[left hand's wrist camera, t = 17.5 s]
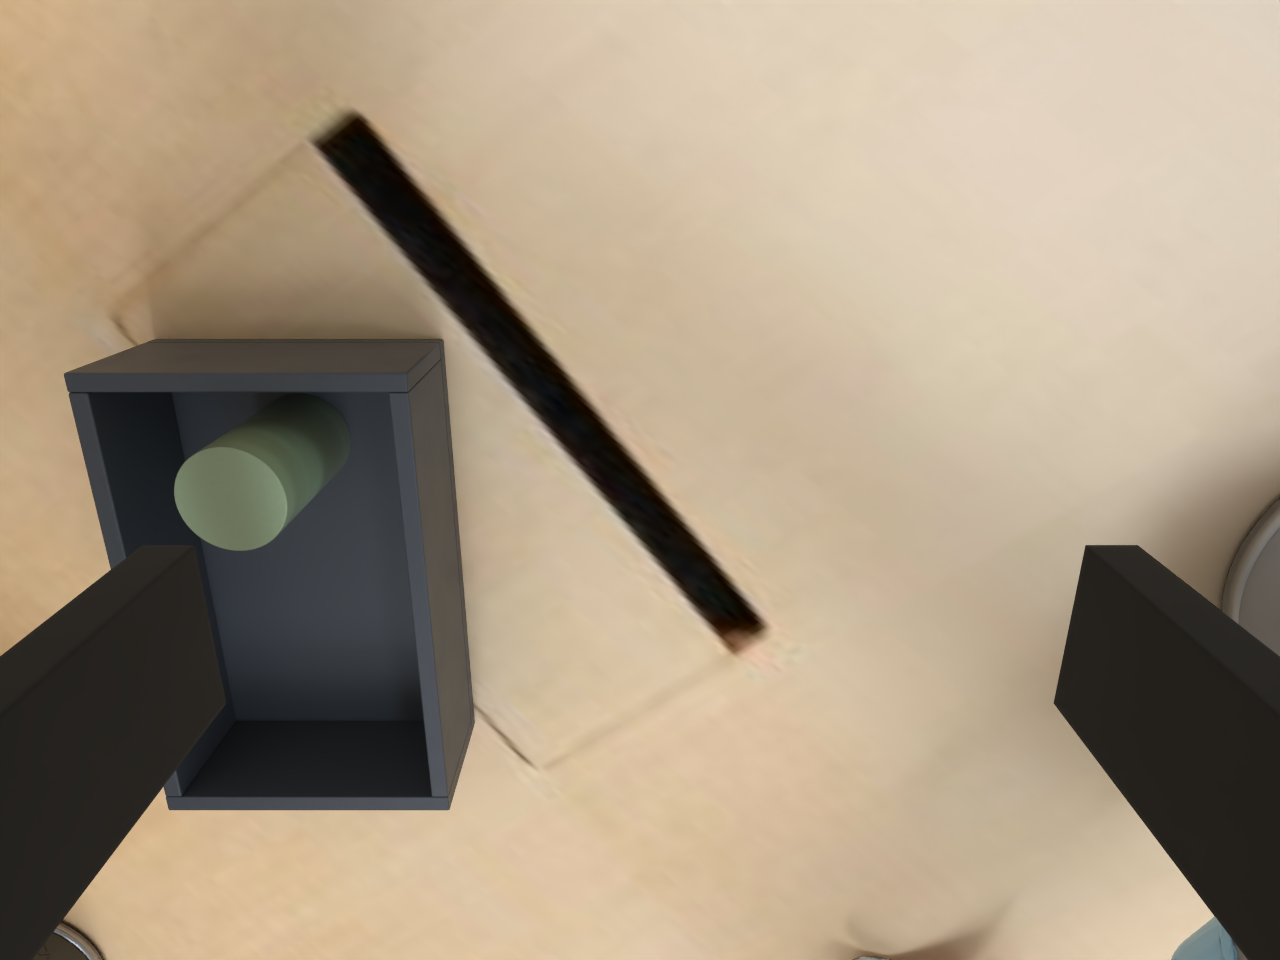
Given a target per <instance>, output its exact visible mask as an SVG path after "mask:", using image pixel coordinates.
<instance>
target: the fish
mask: <svg viewBox="0 0 1280 960" xmlns="http://www.w3.org/2000/svg"><path fill="white" fill-rule="evenodd" d="M853 960H890V959H885V958H880V957H874V956H861V957H858V958H855V959H853Z"/></svg>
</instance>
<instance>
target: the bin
mask: <svg viewBox="0 0 1280 960" xmlns="http://www.w3.org/2000/svg"><path fill="white" fill-rule="evenodd" d="M64 377H65V381H66V386H67V390H68V392H70V393H69V398H70V402H71V406H72V410H73V414H74V418H75V423H76V427H77V431H78V435H79V439H80V443H81V447H82V451H83V456H84V460H85V464H86V468H87V472H88V476H89V480H90V485H91V489H92V493H93V497H94V501H95V505H96V509H97V513H98V518H99V522H100V526H101V530H102V534H103V538H104V542H105V546H106V551H107V555H108V559H109V563H110V567H111V569H113V568H114V567H115V566H117V565H118V564H119V563H120V562H122V561H123V560H124V559H126V558H127V557H128V556H129V555H131V554H132V553H133V552H134V551H136V550H137V549H138V548H140V547H141V546H142V545H194V546H195V551H196V556H197V561H198V566H199V571H200V576H201V581H202V586H203V591H204V596H205V601H206V606H207V610H208V615H209V620H210V625H211V630H212V635H213V640H214V645H215V650H216V655H217V660H218V665H219V670H220V675H221V680H222V685H223V690H224V695H225V700H226V704H225V706H224V707H223V708H222V710H221V711H220V712H219V714H218V715H217V716H216V718H215V719H214V720H213V721H212V723H211V724H210V725H209V727H208V728H207V729H206V731H205V732H204V733H203V735H202V736H201V737H200V739H199V740H198V741H197V743H196V744H195V745H194V747H193V748H192V749H191V751H190V752H189V753H188V755H187V756H186V757H185V759H184V760H183V761H182V762H181V764H180V765H179V766H178V768H177V769H176V770H175V772H174V773H173V774H172V776H171V777H170V778H169V780H168V781H167V782H166V784H165V785H164V790H165V794H166V800H167V804H168V808H169V810H449V809H450V806H451V802H452V799H453V796H454V792H455V789H456V785H457V782H458V779H459V775H460V772H461V768H462V765H463V761H464V758H465V755H466V751H467V748H468V744H469V741H470V738H471V734H472V730H473V727H474V724H475V723H474V711H473V698H472V686H471V674H470V662H469V649H468V637H467V625H466V613H465V601H464V588H463V576H462V564H461V552H460V539H459V527H458V515H457V503H456V491H455V478H454V466H453V454H452V442H451V430H450V417H449V405H448V393H447V381H446V368H445V356H444V344H443V340H442V339H154V340H152V341H149V342H146V343H144V344H141V345H139V346H136V347H133V348H131V349H128V350H125V351H123V352H120V353H117V354H115V355H112V356H109V357H107V358H104V359H101V360H99V361H96V362H93V363H91V364H88V365H85V366H82V367H80V368H77V369H74V370H72V371H69V372H66V373H64ZM291 394H306V395H311V396H314V397H317V398H320V399H322V400H324V401H325V402H327V403H329V404H330V405H331V406H333V407H334V408H335V409H336V410H337V411H338V412H339V413H340V415H341V416H342V417H343V419H344V420H345V422H346V424H347V426H348V429H349V432H350V437H351V450H350V455H349V457H348V460H347V462H346V463H345V465H344V466H343V467H342V469H341V470H340V471H339V472H338V473H337V474H336V475H335V476H334V477H333V478H332V479H331V480H330V481H329V482H328V483H327V484H326V485H325V486H324V487H323V488H322V490H321V491H320V492H319V493H318V494H317V495H316V496H315V497H314V498H313V499H312V500H311V501H310V502H309V503H308V504H307V505H306V506H305V507H304V508H303V509H302V510H301V511H300V512H299V513H298V514H297V516H296V517H295V518H294V519H293V520H292V521H291V522H290V523H289V524H288V525H287V526H286V527H285V528H284V529H283V530H282V531H281V532H280V533H279V534H278V535H277V536H276V537H275V538H274V539H273V540H272V541H270V542H269V543H268V544H266V545H264V546H262V547H259V548H256V549H252V550H245V551H235V550H228V549H223V548H220V547H217V546H215V545H212V544H210V543H208V542H207V541H205V540H203V539H202V538H200V537H199V536H198V535H197V534H195V533H194V532H193V531H192V530H191V529H190V528H189V527H188V525H187V524H186V523H185V521H184V520H183V518H182V517H181V515H180V513H179V511H178V508H177V505H176V502H175V496H174V486H175V480H176V477H177V474H178V472H179V470H180V468H181V466H182V465H183V464H184V462H185V461H186V460H187V459H188V458H190V457H191V456H192V455H194V454H195V453H197V452H198V451H200V450H201V449H203V448H204V447H206V446H207V445H209V444H210V443H212V442H213V441H215V440H216V439H218V438H219V437H221V436H222V435H224V434H225V433H227V432H228V431H230V430H231V429H233V428H234V427H236V426H237V425H239V424H240V423H242V422H243V421H245V420H246V419H248V418H249V417H251V416H252V415H254V414H255V413H257V412H258V411H260V410H261V409H263V408H264V407H266V406H267V405H269V404H270V403H272V402H273V401H275V400H277V399H279V398H280V397H283V396H286V395H291Z"/></svg>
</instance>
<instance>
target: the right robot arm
mask: <svg viewBox="0 0 1280 960" xmlns="http://www.w3.org/2000/svg"><path fill="white" fill-rule="evenodd" d="M32 960H102V958H101V956H100V954H99V953H98V952H97V950H96V949H95V948H94V946H93V945H92V944H91V943H90V942H89V941H88V940H87V939H86V938H84V937H83V936H82V935H81V934H79V933H78V932H77V931H75V930H74V929H72V928H70V927H69V926H67V925H65V924H63V923H61V922H60V924H59V925H58V926H57V928H56V929H55V930H54V932H53V933H52V934H51V936H50V937H49V938H48V940H47V941H46V942H45V944H44V945H43V946H42V948H41V949H40V950H39V952H38V953H37V954H36V956H35V957H34V958H33V959H32Z"/></svg>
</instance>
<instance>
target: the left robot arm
mask: <svg viewBox="0 0 1280 960" xmlns="http://www.w3.org/2000/svg"><path fill="white" fill-rule="evenodd" d="M225 704H226V700H225V695H224V690H223V685H222V680H221V675H220V670H219V665H218V660H217V655H216V650H215V645H214V640H213V635H212V630H211V625H210V620H209V615H208V610H207V606H206V601H205V596H204V591H203V586H202V581H201V576H200V571H199V566H198V561H197V556H196V551H195V546H194V545H142V546H141V547H140V548H138V549H137V550H136V551H134V552H133V553H132V554H131V555H129V556H128V557H127V558H126V559H124V560H123V561H122V562H120V563H119V564H118V565H117V566H115V567H114V568H113V569H111V570H110V571H109V572H108V573H106V574H105V575H104V576H103V577H101V578H100V579H99V580H97V581H96V582H95V583H94V584H92V585H91V586H90V587H88V588H87V589H86V590H85V591H83V592H82V593H81V594H79V595H78V596H77V597H76V598H74V599H73V600H72V601H71V602H69V603H68V604H67V605H65V606H64V607H63V608H62V609H60V610H59V611H58V612H56V613H55V614H54V615H53V616H51V617H50V618H49V619H48V620H46V621H45V622H44V623H42V624H41V625H40V626H39V627H37V628H36V629H35V630H33V631H32V632H31V633H30V634H28V635H27V636H26V637H24V638H23V639H22V640H21V641H19V642H18V643H17V644H16V645H14V646H13V647H12V648H10V649H9V650H8V651H7V652H5V653H4V654H3V655H1V656H0V960H32V959H33V958H34V957H35V956H36V954H37V953H38V952H39V950H40V949H41V948H42V946H43V945H44V944H45V942H46V941H47V940H48V938H49V937H50V936H51V934H52V933H53V932H54V930H55V929H56V928H57V926H58V925H59V924H60V922H61V921H62V920H63V919H64V917H65V916H66V915H67V913H68V912H69V911H70V909H71V908H72V907H73V905H74V904H75V903H76V901H77V900H78V899H79V897H80V896H81V895H82V893H83V892H84V891H85V889H86V888H87V887H88V885H89V884H90V883H91V881H92V880H93V879H94V878H95V876H96V875H97V874H98V872H99V871H100V870H101V868H102V867H103V866H104V864H105V863H106V862H107V860H108V859H109V858H110V856H111V855H112V854H113V852H114V851H115V850H116V848H117V847H118V846H119V844H120V843H121V842H122V840H123V839H124V838H125V837H126V835H127V834H128V833H129V831H130V830H131V829H132V827H133V826H134V825H135V823H136V822H137V821H138V819H139V818H140V817H141V815H142V814H143V813H144V811H145V810H146V809H147V807H148V806H149V805H150V803H151V802H152V801H153V799H154V798H155V797H156V796H157V794H158V793H159V792H160V790H161V789H162V788H163V786H164V785H165V784H166V782H167V781H168V780H169V778H170V777H171V776H172V774H173V773H174V772H175V770H176V769H177V768H178V766H179V765H180V764H181V762H182V761H183V760H184V759H185V757H186V756H187V755H188V753H189V752H190V751H191V749H192V748H193V747H194V745H195V744H196V743H197V741H198V740H199V739H200V737H201V736H202V735H203V733H204V732H205V731H206V729H207V728H208V727H209V725H210V724H211V723H212V721H213V720H214V719H215V718H216V716H217V715H218V714H219V712H220V711H221V710H222V708H223V707H224V706H225ZM1054 704H1055V706H1056V707H1057V708H1058V710H1059V711H1060V712H1061V714H1062V715H1063V716H1064V718H1065V719H1066V720H1067V721H1068V723H1069V724H1070V725H1071V727H1072V728H1073V729H1074V731H1075V732H1076V733H1077V735H1078V736H1079V737H1080V739H1081V740H1082V741H1083V743H1084V744H1085V745H1086V747H1087V748H1088V749H1089V751H1090V752H1091V753H1092V755H1093V756H1094V757H1095V759H1096V760H1097V761H1098V762H1099V764H1100V765H1101V766H1102V768H1103V769H1104V770H1105V772H1106V773H1107V774H1108V776H1109V777H1110V778H1111V780H1112V781H1113V782H1114V784H1115V785H1116V786H1117V788H1118V789H1119V790H1120V792H1121V793H1122V794H1123V796H1124V797H1125V798H1126V799H1127V801H1128V802H1129V803H1130V805H1131V806H1132V807H1133V809H1134V810H1135V811H1136V813H1137V814H1138V815H1139V817H1140V818H1141V819H1142V821H1143V822H1144V823H1145V825H1146V826H1147V827H1148V829H1149V830H1150V831H1151V833H1152V834H1153V835H1154V837H1155V838H1156V839H1157V840H1158V842H1159V843H1160V844H1161V846H1162V847H1163V848H1164V850H1165V851H1166V852H1167V854H1168V855H1169V856H1170V858H1171V859H1172V860H1173V862H1174V863H1175V864H1176V866H1177V867H1178V868H1179V870H1180V871H1181V872H1182V874H1183V875H1184V876H1185V878H1186V879H1187V880H1188V881H1189V883H1190V884H1191V885H1192V887H1193V888H1194V889H1195V891H1196V892H1197V893H1198V895H1199V896H1200V897H1201V899H1202V900H1203V901H1204V903H1205V904H1206V905H1207V907H1208V908H1209V909H1210V911H1211V912H1212V913H1213V915H1214V916H1215V917H1213V918H1212V919H1211V920H1210V921H1209V922H1207V923H1206V924H1205V925H1204V926H1202V927H1201V928H1200V929H1199V930H1197V931H1196V932H1195V933H1194V934H1192V935H1191V936H1190V937H1189V938H1187V939H1186V940H1185V941H1184V942H1183V943H1182V944H1181V945H1180V946H1179V947H1178V948H1177V950H1176V951H1175V953H1174V954H1173V956H1172V959H1171V960H1280V499H1278V500H1277V501H1276V502H1275V503H1274V504H1273V505H1272V506H1271V507H1270V508H1269V509H1268V510H1267V511H1266V512H1265V514H1264V515H1263V516H1262V517H1261V518H1260V519H1259V520H1258V522H1257V523H1256V524H1255V526H1254V527H1253V528H1252V529H1251V531H1250V532H1249V534H1248V535H1247V537H1246V538H1245V540H1244V541H1243V543H1242V545H1241V547H1240V548H1239V550H1238V552H1237V554H1236V556H1235V558H1234V560H1233V563H1232V565H1231V567H1230V570H1229V573H1228V576H1227V579H1226V583H1225V588H1224V593H1223V601H1222V611H1221V610H1220V609H1218V608H1217V607H1216V606H1215V605H1213V604H1212V603H1211V602H1209V601H1208V600H1207V599H1206V598H1204V597H1203V596H1202V595H1201V594H1199V593H1198V592H1197V591H1195V590H1194V589H1193V588H1192V587H1190V586H1189V585H1188V584H1186V583H1185V582H1184V581H1183V580H1181V579H1180V578H1179V577H1177V576H1176V575H1175V574H1174V573H1172V572H1171V571H1170V570H1169V569H1167V568H1166V567H1165V566H1163V565H1162V564H1161V563H1160V562H1158V561H1157V560H1156V559H1154V558H1153V557H1152V556H1151V555H1149V554H1148V553H1147V552H1146V551H1144V550H1143V549H1142V548H1140V547H1139V546H1138V545H1086V546H1085V551H1084V556H1083V561H1082V566H1081V571H1080V576H1079V581H1078V586H1077V591H1076V596H1075V601H1074V605H1073V610H1072V615H1071V620H1070V625H1069V630H1068V635H1067V640H1066V645H1065V650H1064V655H1063V660H1062V665H1061V670H1060V675H1059V680H1058V685H1057V690H1056V695H1055V700H1054Z"/></svg>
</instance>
